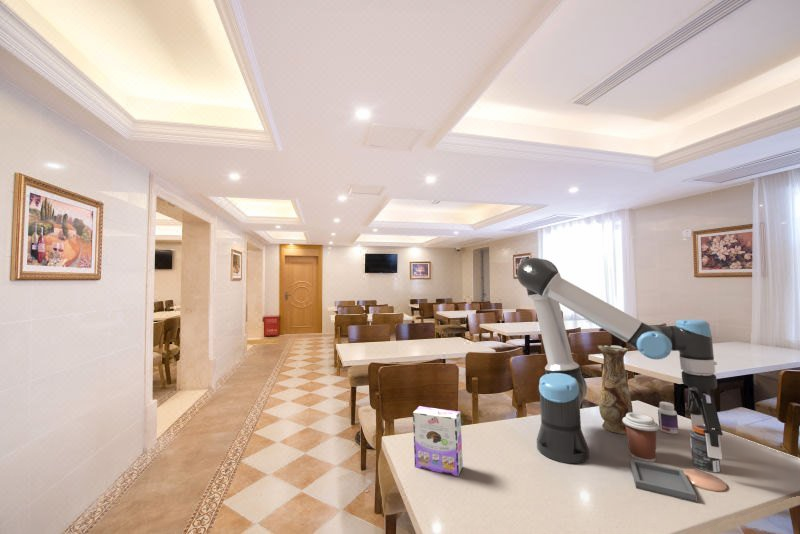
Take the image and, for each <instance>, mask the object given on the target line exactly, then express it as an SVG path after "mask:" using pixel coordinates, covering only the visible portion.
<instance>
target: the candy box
mask: <svg viewBox="0 0 800 534" xmlns="http://www.w3.org/2000/svg"><path fill="white" fill-rule="evenodd" d="M461 417H462V416H461V411H456V410H450V409H443V408H435V407H428V406H421V405H419V406H418V407H417V408H416V409H415V410H414V411H413V412H412V419H413V420H412V425H413V427H412V428H413V449H414V451H413V452H414V467H415V468H418V469H422V470H427V471H433V472H434V473H435V472H436V473H441V474H445V475H450V476H455V477H460V474H461V472H462V470H463V468H464V464H463V444H462V442H463V440H462V439H463V438H462V423H461V422H462V421H461V420H462V418H461Z"/></svg>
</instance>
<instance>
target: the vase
mask: <svg viewBox="0 0 800 534" xmlns="http://www.w3.org/2000/svg"><path fill="white" fill-rule="evenodd" d="M597 347H598V349H599V350H600V352H601V354H602V356H603V365H602V366H603V367H602V375H601V383H600V391H599V399H598V406H599V407H598V409H599V414H600V418H601V419H602V420H603V421H604V422H603V423H602V424H601V426H602V427H603V428H604V430H607V431H609V432H612V433H616V434H623V435H624V434H626V435H627V432H626V426H625V424H624V423H623V421H622V419H623V418H624V417H626V414H627V413H630V412H634V411H633V404H632V398H631V397H632V396H631V394H630V389H629V383H628V379H627V374H626V369H625V362H624V361H625V360H624V357H625V355H626V354H627V352H628V351H629V348H626V347H622V346H620V345H610V346H608V345H604V346H603V345H601V344H600V345H597Z"/></svg>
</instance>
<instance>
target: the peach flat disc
mask: <svg viewBox="0 0 800 534" xmlns="http://www.w3.org/2000/svg"><path fill="white" fill-rule="evenodd" d="M682 470H683V471H684V473H685V475H686V477H687V479H688V481H689V483H690V484H691V486H694V487H696V488H700V489H703V490H706V491H710V492H716V493H717V492H718V493H719V492H724V491H726V490H727V484H726V482H725V481H724V480H722V479H721V478H719V477H718V476H717V475H714V474H711V473H710V472H709V473H708V472H707V471H704V470H703V471H702V470H700V469H694V468H692V469H691V468H684V469H682Z"/></svg>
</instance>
